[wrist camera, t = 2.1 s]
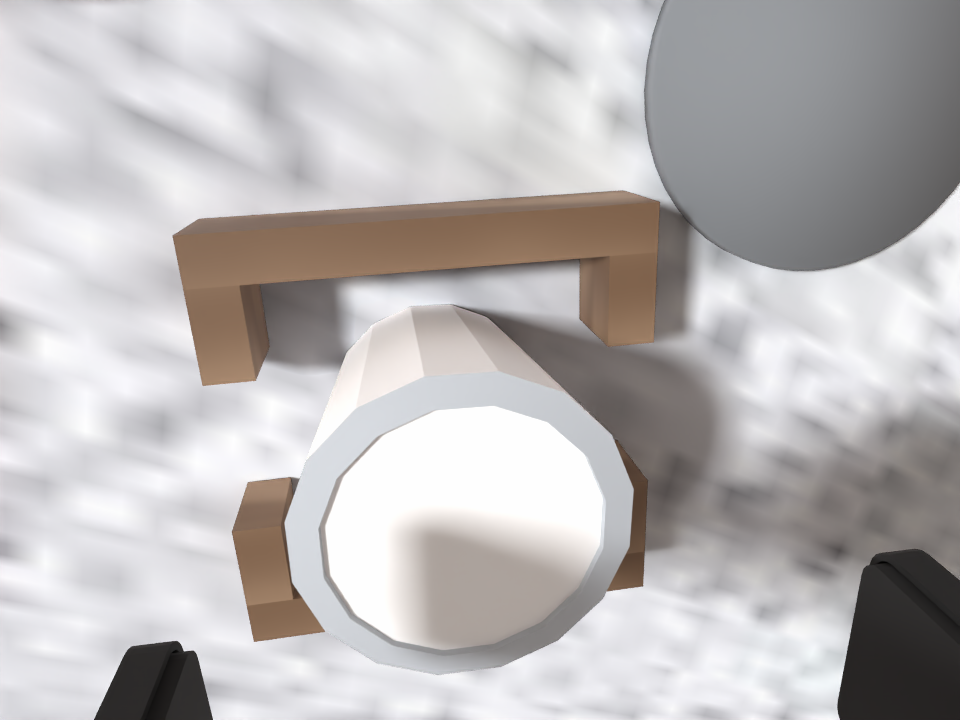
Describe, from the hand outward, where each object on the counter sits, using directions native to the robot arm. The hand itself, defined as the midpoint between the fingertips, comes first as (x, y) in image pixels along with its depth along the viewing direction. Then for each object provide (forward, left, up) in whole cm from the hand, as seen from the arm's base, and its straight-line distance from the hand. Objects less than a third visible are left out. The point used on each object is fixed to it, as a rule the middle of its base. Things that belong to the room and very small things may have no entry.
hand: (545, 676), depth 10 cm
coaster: (+8, -10, -11) cm, 17 cm away
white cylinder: (0, +1, -11) cm, 11 cm away
